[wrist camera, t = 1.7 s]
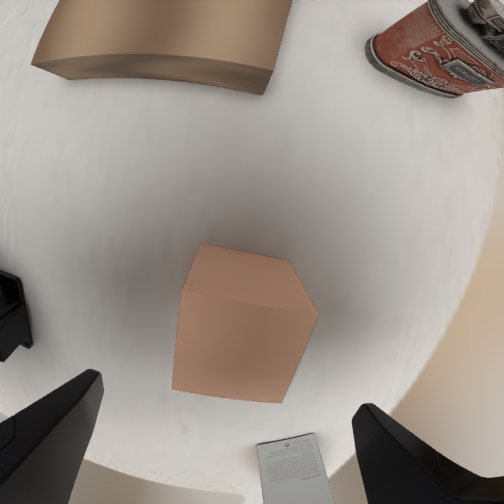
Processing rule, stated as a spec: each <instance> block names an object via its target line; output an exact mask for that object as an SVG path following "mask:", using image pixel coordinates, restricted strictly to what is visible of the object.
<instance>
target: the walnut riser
mask: <svg viewBox="0 0 504 504" xmlns="http://www.w3.org/2000/svg"><path fill="white" fill-rule="evenodd" d="M291 4H292V0H59V2H58V4H57V6H56V8H55V10H54V12H53V14H52V16H51V18H50V20H49V22H48V24H47V26H46V28H45V30H44V32H43V35H42V37H41V39H40V42H39V44H38V46H37V49H36V51H35V54H34V57H33V59H32V62H31V65H33V66H36V67H38V68H41V69H43V70H46V71H48V72H51V73H53V74H56V75H58V76H61V77H63V78H65V79H68V80H70V79H85V78H145V79H161V80H173V81H183V82H191V83H199V84H206V85H213V86H219V87H225V88H230V89H235V90H241V91H246V92H250V93H255V94H259V95H263V94H264V91H265V89H266V87H267V85H268V82H269V80H270V78H271V75H272V73H273V71H274V67H275V63H276V59H277V56H278V52H279V48H280V44H281V40H282V37H283V33H284V29H285V25H286V22H287V18H288V14H289V11H290V7H291Z"/></svg>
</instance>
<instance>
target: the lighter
mask: <svg viewBox="0 0 504 504" xmlns="http://www.w3.org/2000/svg"><path fill="white" fill-rule="evenodd" d="M365 53H366V57H367V59H368V61H369V62H370V64H371V65H372V66H373V67H374V68H375V69H377V70H378V71H380V72H382V73H384V74H386V75H388V76H390V77H392V78H394V79H396V80H398V81H399V82H402V83H404V84H407V85H409V86H411V87H413V88H416V89H418V90H420V91H424V92H427V93H430V94H433V95H436V96H441V97H446V98H457V97H462V96H463V95H464V93H469V92H475V91H482V90H488V89H496V88H504V4H502V3H501V2H500V1H499V0H474V2H472V3H471V2H469V1H468V0H428V1H427V2H426V3H424V4H423V5H421V6H420V7H418V8H417V9H415V10H414V11H412V12H411V13H409V14H408V15H406V16H405V17H403V18H402V19H401V20H399V21H398V22H396V23H395V24H394V25H392V26H391V27H389V28H388V29H387V30H385V31H384V32H383V33H377V34H375V35H374V36H372V37H371V38H370V39H368V40H367V42H366V44H365Z"/></svg>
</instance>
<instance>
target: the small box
mask: <svg viewBox="0 0 504 504" xmlns="http://www.w3.org/2000/svg"><path fill="white" fill-rule="evenodd" d="M257 453H258V462H259V470H260V479H261V487H262V496H263V504H335V502H334V499H333V495H332V492H331V488H330V484H329V481H328V477H327V474H326V470H325V467H324V464H323V460H322V457H321V453H320V450H319V447H318V444H317V441H316V437H315V435H314V434H309V435H305V436H301V437H296V438H292V439H288V440H282V441H278V442H272V443H267V444H261V445H257Z"/></svg>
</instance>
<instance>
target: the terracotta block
mask: <svg viewBox="0 0 504 504" xmlns="http://www.w3.org/2000/svg"><path fill="white" fill-rule="evenodd" d="M318 315H319V313H318V311H317V310H316V308H315V306H314V304H313V302H312V301H311V299H310V297H309V295H308V293H307V292H306V290H305V288H304V286H303V284H302V283H301V281H300V279H299V277H298V275H297V274H296V272H295V270H294V268H293V267H292V265H291V263H290V261H289V260H284V259H279V258H274V257H268V256H263V255H258V254H253V253H248V252H243V251H238V250H233V249H228V248H223V247H218V246H212V245H207V244H202V243H201V244H200V246H199V248H198V251H197V253H196V256H195V258H194V261H193V263H192V266H191V268H190V271H189V273H188V276H187V279H186V281H185V284H184V286H183V289H182V293H181V301H180V309H179V317H178V326H177V335H176V345H175V356H174V367H173V380H172V389H174V390H179V391H184V392H190V393H195V394H201V395H207V396H214V397H221V398H228V399H237V400H246V401H257V402H269V403H282V401H283V399H284V397H285V395H286V393H287V390H288V388H289V386H290V384H291V382H292V379H293V377H294V375H295V372H296V370H297V368H298V365H299V363H300V361H301V358H302V356H303V353H304V351H305V349H306V346H307V344H308V341H309V339H310V336H311V333H312V331H313V328H314V326H315V323H316V320H317V318H318Z"/></svg>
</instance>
